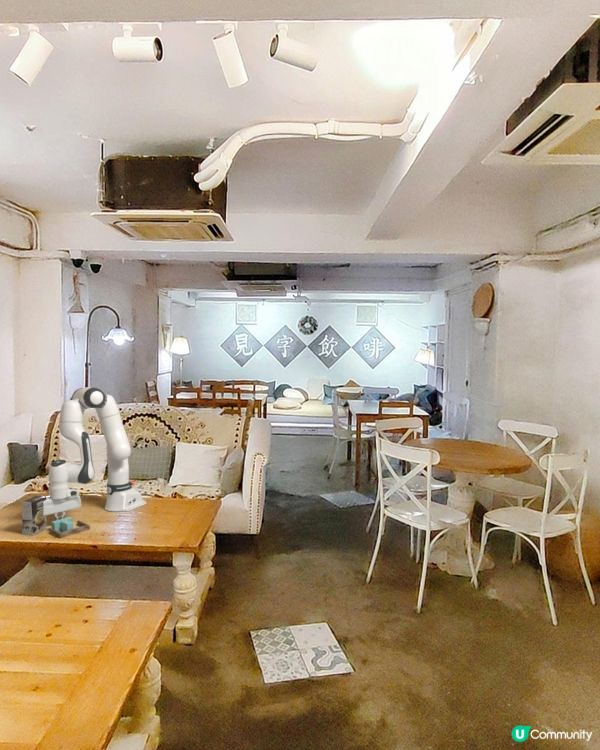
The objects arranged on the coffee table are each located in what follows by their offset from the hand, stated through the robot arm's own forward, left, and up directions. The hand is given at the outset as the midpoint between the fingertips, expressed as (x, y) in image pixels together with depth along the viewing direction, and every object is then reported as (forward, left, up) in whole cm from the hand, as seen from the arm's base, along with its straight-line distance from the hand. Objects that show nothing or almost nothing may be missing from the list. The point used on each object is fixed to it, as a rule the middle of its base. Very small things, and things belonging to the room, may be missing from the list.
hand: (59, 520), depth 250 cm
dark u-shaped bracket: (+1, +10, -3) cm, 10 cm away
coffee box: (+12, -1, -3) cm, 12 cm away
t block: (+1, +8, -3) cm, 9 cm away
